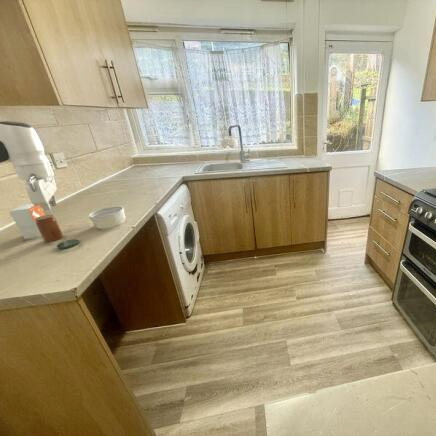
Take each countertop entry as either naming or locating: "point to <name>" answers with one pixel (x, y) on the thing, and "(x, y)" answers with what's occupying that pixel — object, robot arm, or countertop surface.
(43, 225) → the jar
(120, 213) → the ramekin
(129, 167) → the countertop surface
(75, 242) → the lid
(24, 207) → the small box
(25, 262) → the countertop surface
